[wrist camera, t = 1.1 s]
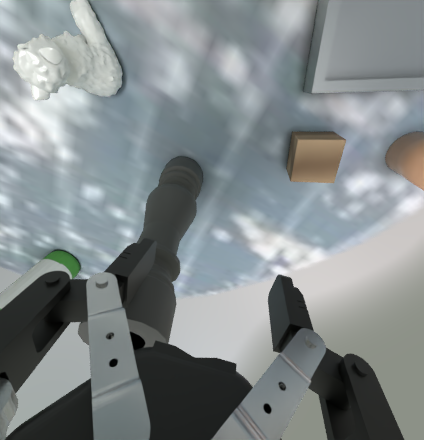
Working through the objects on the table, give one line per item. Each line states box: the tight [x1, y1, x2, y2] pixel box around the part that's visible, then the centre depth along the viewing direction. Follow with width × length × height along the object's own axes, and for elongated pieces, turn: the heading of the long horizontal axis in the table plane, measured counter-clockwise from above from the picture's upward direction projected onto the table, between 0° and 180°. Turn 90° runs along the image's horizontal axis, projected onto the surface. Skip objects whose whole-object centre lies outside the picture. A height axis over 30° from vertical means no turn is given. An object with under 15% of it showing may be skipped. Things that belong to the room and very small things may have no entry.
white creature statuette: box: [13, 0, 123, 100], centre depth 23 cm, size 10×9×12 cm
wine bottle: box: [0, 251, 80, 310], centre depth 40 cm, size 8×8×30 cm
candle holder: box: [78, 157, 203, 351], centre depth 24 cm, size 6×6×25 cm
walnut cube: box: [286, 132, 346, 183], centre depth 27 cm, size 5×5×5 cm
